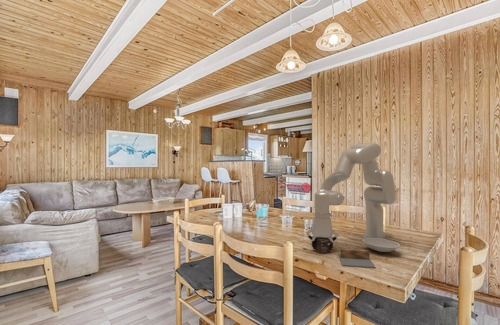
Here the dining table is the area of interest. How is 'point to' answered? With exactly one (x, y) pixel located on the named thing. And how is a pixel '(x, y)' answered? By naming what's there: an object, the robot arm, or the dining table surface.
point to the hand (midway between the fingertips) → (322, 248)
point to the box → (322, 245)
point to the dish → (381, 244)
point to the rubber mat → (356, 262)
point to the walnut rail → (354, 254)
